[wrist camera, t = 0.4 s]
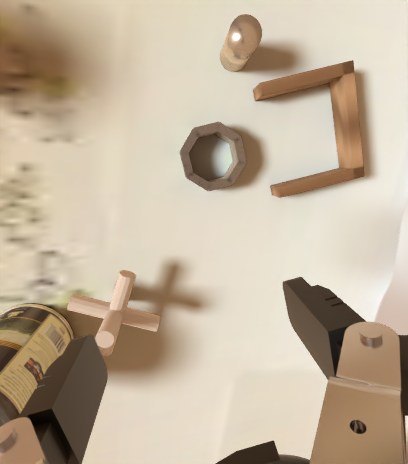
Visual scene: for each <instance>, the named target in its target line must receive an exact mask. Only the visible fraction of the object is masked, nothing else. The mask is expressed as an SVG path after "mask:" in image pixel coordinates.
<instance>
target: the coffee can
mask: <svg viewBox="0 0 408 464" xmlns="http://www.w3.org/2000/svg"><path fill="white" fill-rule="evenodd" d="M72 339H74V336H73V332H72V329H71V327H70V325H69V323H68V322H67V321H66V319H65V318H64V317H63V316H62V315H61V314H59V313H58V312H56V311H55V310H53V309H51V308H49V307H46V306H43V305H39V304H21V305H17V306H14V307H12V308H10V309H8V310H6V311H5V312H3V313H2V314H1V315H0V427H1V426H3V425H4V424H6V423H8V422H10V421H12V420H14V419H17V418H18V416H19V415H20V413H21V411H22V410H23V408H24V407H25V405H26V403H27V402H28V400H29V398H30V397H31V395H32V393H33V392H34V390H35V389H37V385H38V384H39V382H40V380H41V379H42V377H43V375H44V374H45V372H46V370H47V369H48V367H49V366H50V365H51V364H52V363H53V362H54V361H55V360H56V359H57V358H58V357H59V356H61V355H62V354H63V352H64V351H65V349H66V347H67V345H68V344H69V342H70V341H71V340H72Z"/></svg>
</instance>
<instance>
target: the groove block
mask: <svg viewBox="0 0 408 464" xmlns="http://www.w3.org/2000/svg"><path fill="white" fill-rule="evenodd" d="M326 83H329V84H330V93H331V101H332V110H333V118H334V127H335V135H336V144H337V152H338V161H339V168H338V169H334V170H330V171H326V172H322V173H318V174H314V175H310V176H306V177H302V178H298V179H294V180H290V181H286V182H282V183H279V184H275V185H271V186H270V187H271V192H272V195H274V196H277V197H279V198H281V197H285V196H289V195H293V194H297V193H301V192H305V191H309V190H313V189H317V188H320V187H324V186H328V185H332V184H336V183H340V182H344V181H348V180H352V179H356V178H360V177H364V166H363V156H362V146H361V135H360V125H359V115H358V104H357V94H356V84H355V73H354V63H353V60H352V61H348V62H344V63H340V64H336V65H332V66H328V67H324V68H320V69H315V70H311V71H307V72H303V73H299V74H295V75H291V76H287V77H282V78H278V79H274V80H270V81H266V82H262V83H260V84H259V85H258V86H257V87H256V88H255V89H254V90H253V92H254V98H255V101H257V100H261V99H265V98H269V97H273V96H277V95H281V94H286V93H290V92H294V91H298V90H302V89H306V88H310V87H314V86H318V85H322V84H326Z"/></svg>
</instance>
